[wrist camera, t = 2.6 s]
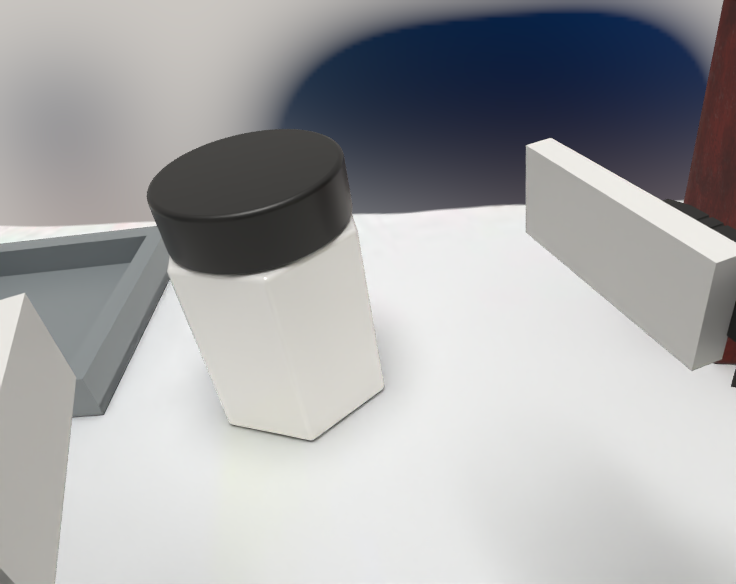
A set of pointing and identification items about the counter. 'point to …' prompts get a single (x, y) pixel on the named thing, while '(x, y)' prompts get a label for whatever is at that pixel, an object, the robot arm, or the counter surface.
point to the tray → (90, 300)
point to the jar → (271, 277)
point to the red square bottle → (718, 140)
